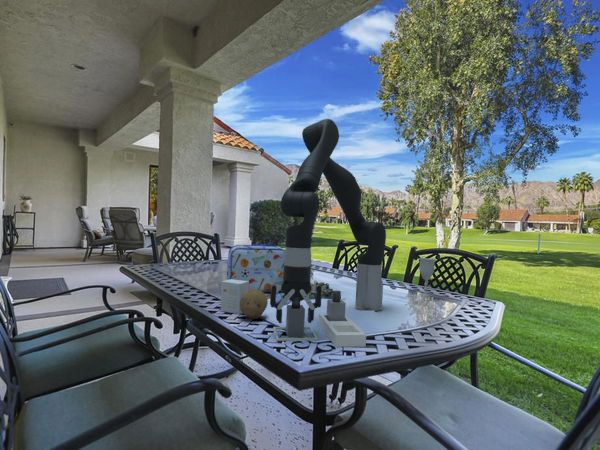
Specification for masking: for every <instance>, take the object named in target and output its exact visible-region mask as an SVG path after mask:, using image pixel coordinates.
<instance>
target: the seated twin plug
mask: <svg viewBox="0 0 600 450" xmlns="http://www.w3.org/2000/svg"><path fill="white" fill-rule="evenodd" d="M341 294H342V291H340V290H333V297H332V299H326V300H327V301H326V313H327V318H326V319H327V320H328V321H345V315H346V307H347V306H346V302H345V301H344V300H343V299H341V296H342V295H341Z"/></svg>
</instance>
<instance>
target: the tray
mask: <svg viewBox="0 0 600 450" xmlns="http://www.w3.org/2000/svg"><path fill="white" fill-rule="evenodd" d="M277 330H286V326H273V332H274V336H275V339H276V342H291V341H292V342H296V341H297V342H299V341H300V342H301V341H304V342H305V341H306V342H307V341H319V337H318V336H317V335H316V333H315V331H314V329H312V326H304V330H309V331H310V333H311V335H312V337H279V336H278V332H277Z"/></svg>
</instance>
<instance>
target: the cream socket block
mask: <svg viewBox="0 0 600 450" xmlns="http://www.w3.org/2000/svg"><path fill="white" fill-rule="evenodd" d="M326 318H327V312H326V313H318V321H317V322H318V325H319V326H320V327H321V329H322V330H323V332H324V333H325V334H326V336H327V337H328V338H329V339H328V340H330V341H331V343H332V344H333V346H334V347H335V348H353V347H354V348H355V347H363V348H365V347H367V346H366V344H367V334H366V333H365V332H364V331H363V330H362V329H361V328H360V327H359V326H357V324H356V323H355V322H353V320H352V319H350V318H349V317H348V316H347V315H346V314H345V321H328V320H327V319H326Z"/></svg>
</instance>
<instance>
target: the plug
mask: <svg viewBox="0 0 600 450" xmlns="http://www.w3.org/2000/svg"><path fill="white" fill-rule="evenodd" d="M285 317H286V318H285V327H286V329H285V333H286V336H287V338H305V329H304V327H305V317H306V309H305V306H303V304H301V301H299V297H295V300H294V301H291V304H287V305H286V315H285Z"/></svg>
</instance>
